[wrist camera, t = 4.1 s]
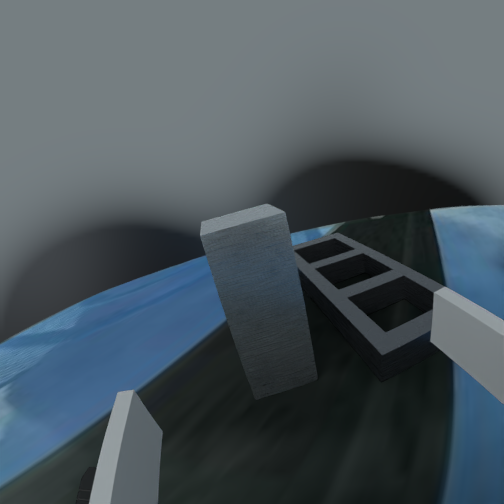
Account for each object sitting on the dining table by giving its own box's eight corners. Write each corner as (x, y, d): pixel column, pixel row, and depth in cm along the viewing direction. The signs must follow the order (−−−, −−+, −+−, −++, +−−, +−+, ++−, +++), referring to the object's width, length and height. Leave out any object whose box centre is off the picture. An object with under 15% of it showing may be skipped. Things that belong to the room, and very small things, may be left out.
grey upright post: (255, 399, 18) (200, 235, 15) (246, 362, 23) (201, 221, 19) (317, 379, 19) (285, 212, 15) (299, 346, 23) (267, 203, 20)
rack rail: (381, 382, 16) (382, 355, 16) (283, 266, 41) (280, 249, 40) (470, 330, 17) (474, 303, 16) (340, 248, 42) (337, 232, 41)
